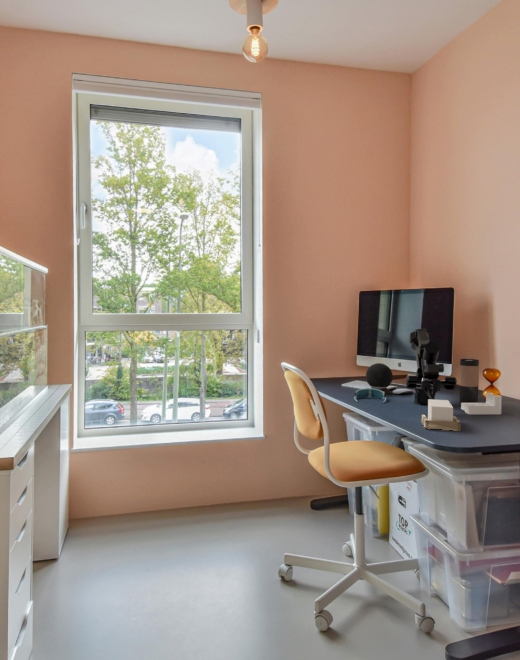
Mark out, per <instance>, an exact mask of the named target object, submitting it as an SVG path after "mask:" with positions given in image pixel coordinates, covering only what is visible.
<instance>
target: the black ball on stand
mask: <svg viewBox="0 0 520 660" xmlns="http://www.w3.org/2000/svg"><path fill="white" fill-rule="evenodd" d="M393 375H394V374H393V371H392V370H391V368H390V367H389V366H388V365H386V364H384V363H380V362H379V363H378V362H376V363H373V364H372V365H370V366H369V367H368V368H367V370H366V372H365V380H366V382H367V384H368V385H369V386H370V388H374V389H378V390H381V391H383V392H384V393H385V394H389V395H391V390H390V389H389V388H388V387H389V386H391V384H392V382H393V379H394V377H393Z"/></svg>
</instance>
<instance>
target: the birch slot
mask: <svg viewBox="0 0 520 660" xmlns="http://www.w3.org/2000/svg"><path fill="white" fill-rule="evenodd" d="M461 423H462V422H461V421H460V420H459V419H458V418H457V416H455V415H453V421H434V420H428V417H427V416H426V415H425V414H421V424H422V426H423V425H424V426H423V427H425V428H427V429H426V430H430V429H442V430H441V431H449V430H453V431H452V432H461V429H462V427H461V425H462V424H461ZM425 428H424V429H425Z"/></svg>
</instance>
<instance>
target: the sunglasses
mask: <svg viewBox="0 0 520 660" xmlns="http://www.w3.org/2000/svg"><path fill="white" fill-rule="evenodd" d="M369 395H370V396H371V398H373V399H378V398H381V399H380V400H383V401H382V402H381V403H383V404H385V403H384V402H386V401H387V398H386V397H387V395H385V393H384V392H383V391H381V390H378V389H374V388H371V387H364V388H361V389H358V390H356V391H355V393H354V397H353V399H354V400H355V402H356V403H358V404H359V403H360V402H359V401H358V400H357V399H363V398H364V399H365V398H366V399H367V398H368V397H369Z"/></svg>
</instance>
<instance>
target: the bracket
mask: <svg viewBox="0 0 520 660" xmlns="http://www.w3.org/2000/svg"><path fill="white" fill-rule="evenodd" d="M494 394H495V393H493V392H488V393H487V392H486V393H485V402H478V403H461V405H460V409H461V410H462V411H464V413H465V414H467V415H502V395H494Z"/></svg>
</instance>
